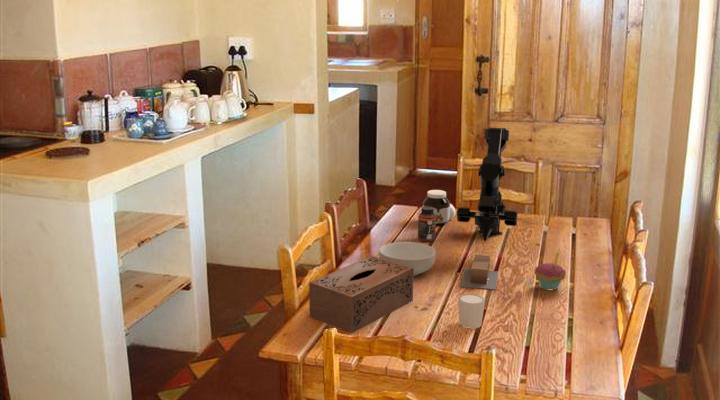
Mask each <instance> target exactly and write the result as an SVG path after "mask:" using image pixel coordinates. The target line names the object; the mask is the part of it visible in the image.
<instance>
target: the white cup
mask: <svg viewBox="0 0 720 400" xmlns="http://www.w3.org/2000/svg"><path fill="white" fill-rule="evenodd" d="M457 301H458V302H457V304H458V306H457V307H458V323H459V324H460V325H462V326H465V327H470V328H475V329H476V330H477V329H479V328H480V327H481V326H482V322H483V318H484V317H483V316H484V310H485V304H486V303H485V302H486V299H485V298H484V297H483V296H481V295H478V294H476V293H464V294H461V295H459V296H458V297H457ZM460 325H459V326H460ZM462 326H461V327H462ZM475 329H474V330H475Z"/></svg>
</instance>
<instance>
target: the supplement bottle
mask: <svg viewBox="0 0 720 400" xmlns="http://www.w3.org/2000/svg"><path fill="white" fill-rule="evenodd" d="M417 217H418V219H417V220H418V222H417V239H418V240H419V241H421V242H428V243H429V242H433V241H435V240H436V227H437V226H436V215H435V214H434V213H433V207H429V206H425V207H421V212H420V213H419V214H418V216H417Z"/></svg>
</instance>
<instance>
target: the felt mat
mask: <svg viewBox="0 0 720 400" xmlns="http://www.w3.org/2000/svg"><path fill="white" fill-rule="evenodd" d="M471 270H472V268H464V271H463V275H462V278H461V281H460V288H469V289H478V288H483V289H482V290H489V291H490V290H491V291H497V290H496V289H497V283H498V277H499V276H498V275H499V271H495V270H489V274H488V278H489V280H487V282H488V283H487V284H476V283H471Z"/></svg>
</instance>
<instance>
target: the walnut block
mask: <svg viewBox="0 0 720 400" xmlns="http://www.w3.org/2000/svg"><path fill="white" fill-rule="evenodd" d="M490 260H491V255H484V254H483V255H482V254H474V257H473V261H472V266H471V269H472V270H471V283H476V284H487V279H488V274H489V271H490V265H491V263H490Z"/></svg>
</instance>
